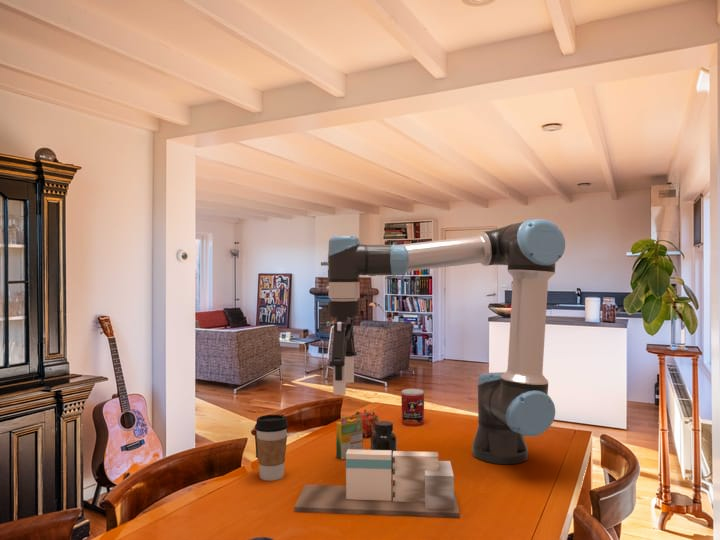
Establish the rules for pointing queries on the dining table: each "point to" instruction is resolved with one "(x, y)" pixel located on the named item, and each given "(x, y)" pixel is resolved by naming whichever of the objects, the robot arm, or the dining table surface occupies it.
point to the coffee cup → (271, 446)
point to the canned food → (412, 407)
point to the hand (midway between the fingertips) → (344, 388)
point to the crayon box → (348, 435)
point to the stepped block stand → (394, 491)
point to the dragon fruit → (367, 421)
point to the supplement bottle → (384, 437)
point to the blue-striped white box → (369, 474)
